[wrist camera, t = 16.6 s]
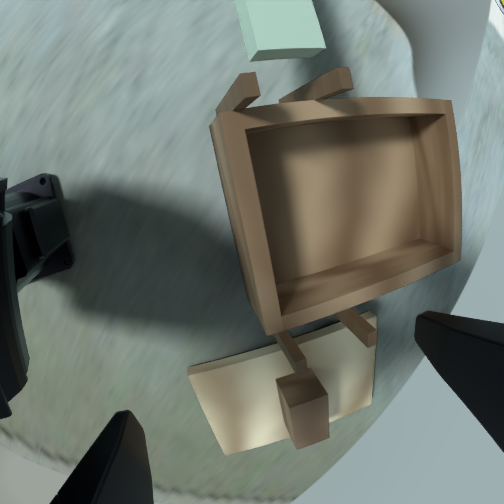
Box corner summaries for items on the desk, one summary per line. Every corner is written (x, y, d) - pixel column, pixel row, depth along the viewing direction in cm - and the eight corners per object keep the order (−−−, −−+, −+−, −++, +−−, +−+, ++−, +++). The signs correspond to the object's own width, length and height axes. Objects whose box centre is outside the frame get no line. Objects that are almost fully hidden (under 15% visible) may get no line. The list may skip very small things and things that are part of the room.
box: (250, 311, 22) (286, 380, 14) (206, 111, 17) (224, 76, 10) (420, 253, 24) (485, 284, 17) (404, 94, 20) (479, 83, 12)
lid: (222, 442, 26) (231, 482, 21) (186, 361, 22) (191, 408, 17) (362, 394, 28) (387, 425, 23) (365, 306, 25) (401, 336, 20)
